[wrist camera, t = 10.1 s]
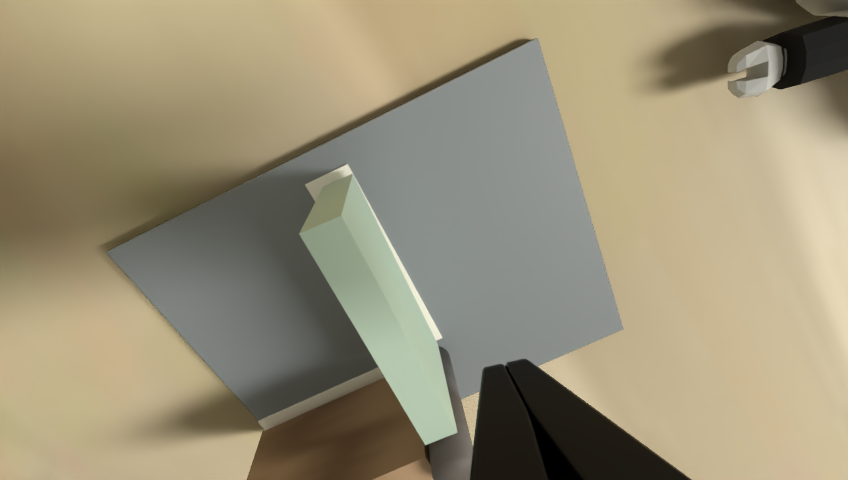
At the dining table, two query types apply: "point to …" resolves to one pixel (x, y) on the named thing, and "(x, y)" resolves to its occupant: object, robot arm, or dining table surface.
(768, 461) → the dining table surface
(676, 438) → the dining table surface
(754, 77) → the robot toy
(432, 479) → the fixed fence
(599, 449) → the robot arm
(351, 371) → the card
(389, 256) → the swing panel
